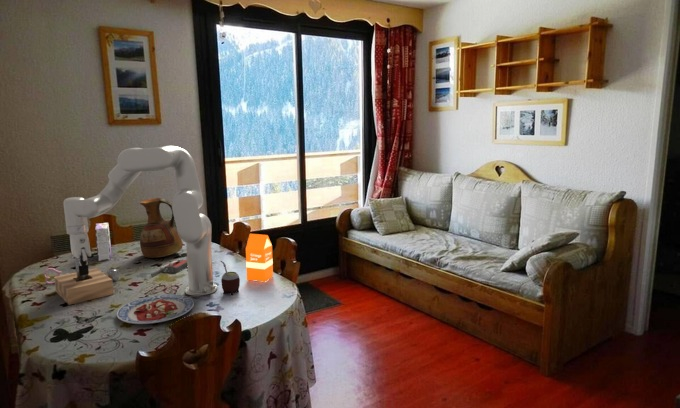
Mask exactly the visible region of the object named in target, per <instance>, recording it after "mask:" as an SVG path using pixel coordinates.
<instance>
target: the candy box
mask: <svg viewBox="0 0 680 408" xmlns="http://www.w3.org/2000/svg"><path fill="white" fill-rule="evenodd" d="M109 226H110V225H109V222H103V223H102V222H101V223H99V222H98V223H95V241H96V242H95V243H96V251H97V253H96V254H97V262H103V261H110V260H111V259H112V245H111V236H110V234H111V233H110V227H109Z"/></svg>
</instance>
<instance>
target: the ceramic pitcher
mask: <svg viewBox="0 0 680 408" xmlns="http://www.w3.org/2000/svg"><path fill="white" fill-rule="evenodd" d="M139 204H140V205H142V206H143V207H144V208H145V213H146V215H147V223H146V225H144V227H143V228H142V230H141V233H140V236H139V237H140V238H139V246H140V247H139V248H140V250H141V251H140V252H141V254H142V255H143V257H145V258H151V259H155V258H162V257H168V256H171V255H174V254H176V253H179V252H180V251H181V250H182V249H183V240H182V239H181V238H180V237H179V234H178V231H177V227H175V219H174V215H173V210H172V201H170V200H169V199H166V198H164V197H163V198H162V197H156V198H155V197H154V198H149V199H144V200H142V201H140V202H139ZM161 204H166V205H167V206H168V207H169V208H170V210H171V219H170V220H169V221H167V220H166V219H164V217H163V216H162V214H161V210H160V205H161Z"/></svg>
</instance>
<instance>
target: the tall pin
mask: <svg viewBox="0 0 680 408" xmlns="http://www.w3.org/2000/svg"><path fill="white" fill-rule="evenodd" d="M80 258H82V256H80ZM81 260H83V259H81ZM74 263H76V266H75V273H76V272H77V281H78V282H79V281H83V280H88V279H89V276H88V274H87V275H82V276H80V275H79V260H78V258H76V257H75V256H74Z"/></svg>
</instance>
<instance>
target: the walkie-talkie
mask: <svg viewBox="0 0 680 408" xmlns="http://www.w3.org/2000/svg"><path fill="white" fill-rule="evenodd" d="M187 268H188V267H187V259H182V258H181V259H180V258H179V259H175V260H172V261H170V262H169V263H168V264H165V265H162V266H160V268H159V269H158V270H156V271H154V272H152V273H150V276H155V275H156V274H159V273H161V272H163V273H171V274H173V273H174V274H177V273H179V272H181V271H183V270H184V269H187ZM182 269H183V270H182ZM180 270H181V271H180Z"/></svg>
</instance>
